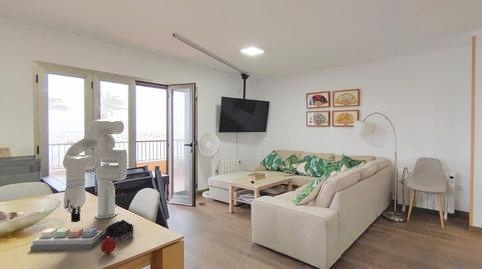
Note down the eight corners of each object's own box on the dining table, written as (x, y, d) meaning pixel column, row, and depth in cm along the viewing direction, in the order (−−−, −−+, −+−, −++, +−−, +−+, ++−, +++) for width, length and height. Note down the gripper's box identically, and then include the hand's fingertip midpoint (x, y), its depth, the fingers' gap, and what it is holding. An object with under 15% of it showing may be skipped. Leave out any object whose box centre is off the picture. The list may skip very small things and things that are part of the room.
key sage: (61, 233, 122) (61, 228, 122) (70, 233, 122) (70, 228, 122) (55, 237, 118) (55, 232, 118) (64, 237, 118) (64, 231, 118)
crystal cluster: (106, 235, 132) (104, 217, 130) (134, 229, 136) (132, 212, 135) (103, 248, 119) (100, 229, 118) (134, 242, 124) (131, 222, 123)
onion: (118, 250, 114) (118, 233, 113) (112, 257, 108) (111, 238, 108) (105, 251, 113) (104, 233, 113) (98, 257, 108) (98, 239, 107)
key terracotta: (74, 233, 122) (74, 228, 122) (83, 233, 123) (83, 228, 122) (69, 237, 118) (69, 231, 118) (78, 237, 118) (78, 231, 118)
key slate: (87, 233, 123) (87, 228, 123) (96, 233, 123) (96, 228, 123) (82, 236, 118) (82, 231, 118) (91, 236, 119) (91, 231, 119)
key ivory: (47, 233, 122) (47, 228, 122) (56, 233, 122) (56, 228, 122) (41, 237, 117) (41, 232, 117) (50, 237, 118) (50, 232, 118)
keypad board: (50, 238, 126) (50, 230, 126) (104, 237, 127) (104, 229, 127) (30, 250, 113) (30, 241, 113) (90, 249, 114) (90, 240, 114)
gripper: (76, 180, 127) (76, 216, 127) (56, 186, 112) (56, 227, 112) (92, 179, 127) (92, 216, 127) (74, 186, 112) (74, 227, 112)
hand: (75, 221), depth 120 cm, fingers closed
